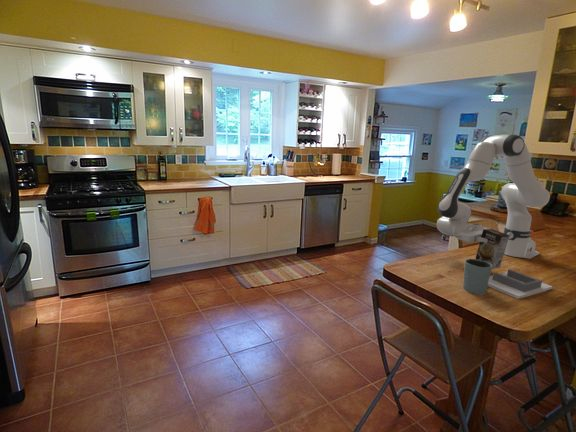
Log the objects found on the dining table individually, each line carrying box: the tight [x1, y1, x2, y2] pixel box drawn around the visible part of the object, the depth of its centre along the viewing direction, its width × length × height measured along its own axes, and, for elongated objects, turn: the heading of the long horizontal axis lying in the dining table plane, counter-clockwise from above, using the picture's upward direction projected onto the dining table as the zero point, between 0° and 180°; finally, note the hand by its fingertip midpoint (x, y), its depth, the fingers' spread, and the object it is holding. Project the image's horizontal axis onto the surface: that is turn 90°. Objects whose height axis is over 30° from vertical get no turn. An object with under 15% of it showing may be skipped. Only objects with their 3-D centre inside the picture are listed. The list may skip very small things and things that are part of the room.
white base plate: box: [487, 269, 553, 300], centre depth 150 cm, size 24×18×4 cm
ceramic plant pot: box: [462, 258, 493, 295], centre depth 143 cm, size 10×10×12 cm
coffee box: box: [475, 228, 510, 270], centre depth 158 cm, size 9×6×16 cm
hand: (493, 240), depth 158 cm, fingers closed on coffee box, 6 cm apart
